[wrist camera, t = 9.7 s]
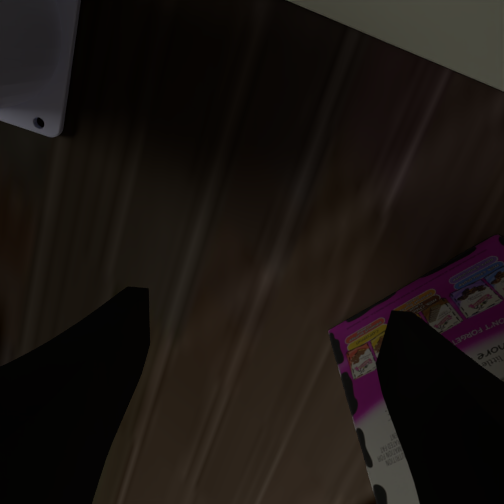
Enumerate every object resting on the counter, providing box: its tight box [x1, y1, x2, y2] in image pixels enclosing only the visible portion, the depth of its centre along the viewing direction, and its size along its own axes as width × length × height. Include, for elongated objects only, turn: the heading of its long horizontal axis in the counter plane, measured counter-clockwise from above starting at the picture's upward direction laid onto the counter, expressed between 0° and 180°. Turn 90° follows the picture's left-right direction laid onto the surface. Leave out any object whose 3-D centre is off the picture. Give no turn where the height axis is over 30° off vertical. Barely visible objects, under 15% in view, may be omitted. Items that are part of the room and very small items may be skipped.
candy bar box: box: [328, 235, 504, 504], centre depth 17 cm, size 11×5×16 cm, turn 127°
